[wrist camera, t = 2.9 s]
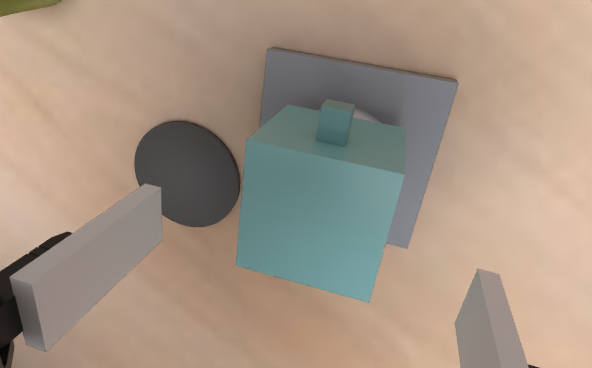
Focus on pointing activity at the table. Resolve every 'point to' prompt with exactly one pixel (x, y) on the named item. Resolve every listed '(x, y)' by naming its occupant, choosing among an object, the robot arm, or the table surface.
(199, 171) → the coaster
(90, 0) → the table surface
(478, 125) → the table surface
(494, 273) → the robot arm
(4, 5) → the plant pot
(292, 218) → the teal cube with tab
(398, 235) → the square plate with peg
